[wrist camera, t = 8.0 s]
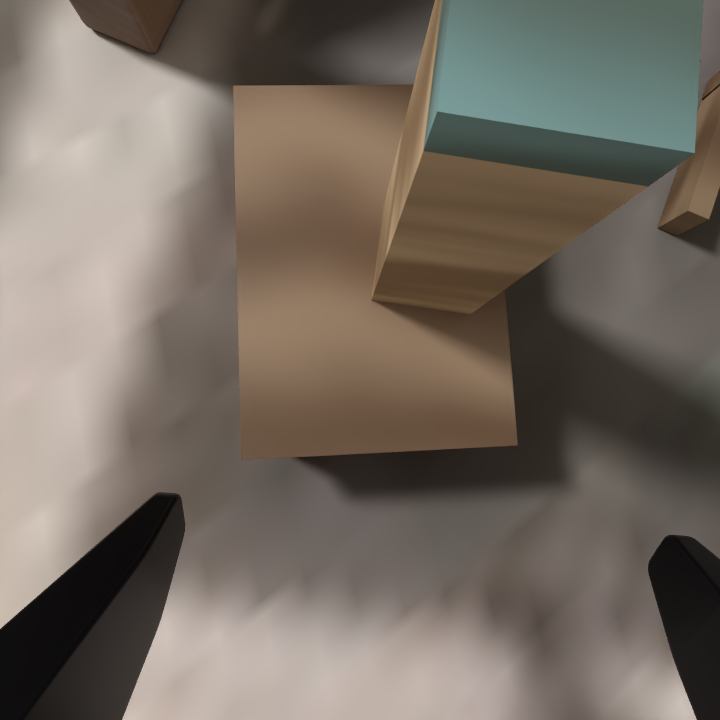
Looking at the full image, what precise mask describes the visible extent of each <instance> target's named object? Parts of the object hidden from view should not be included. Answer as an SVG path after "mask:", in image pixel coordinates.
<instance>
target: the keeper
mask: <svg viewBox="0 0 720 720" xmlns="http://www.w3.org/2000/svg"><path fill="white" fill-rule="evenodd" d="M702 99H704V100H703V101H702V102H701V103H700V106H699V109H698V112H697V122H696V140H695V153H694V154H693V155H691V156H690V157H689V158H687V159H686V160H684V161H683V162H682V163H680V164H679V167H678V170H677V173H676V176H675V179H674V182H673V184H672V187H671V190H670V193H669V196H668V199H667V202H666V205H665V208H664V211H663V214H662V216H661V219H660V222H659V225H658V228H659V229H661V230H664V231H666V232H668V233H671V234H673V235H676V236H678V235H680V234H682V233H684V232H686V231H688V230H690V229H691V228H693V227H695V226H697V225H699V224H701V223H703V222H705V221H707V220H709V218H710V215H711V212H712V209H713V206H714V203H715V200H716V197H717V194H718V191H719V188H720V71H719V72H718V73H717V74H716V75H715V76H714V77H712V78H711V79H710V80H709V81H708V82H707V85H706V88H705V91H704V94H703V97H702Z"/></svg>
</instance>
